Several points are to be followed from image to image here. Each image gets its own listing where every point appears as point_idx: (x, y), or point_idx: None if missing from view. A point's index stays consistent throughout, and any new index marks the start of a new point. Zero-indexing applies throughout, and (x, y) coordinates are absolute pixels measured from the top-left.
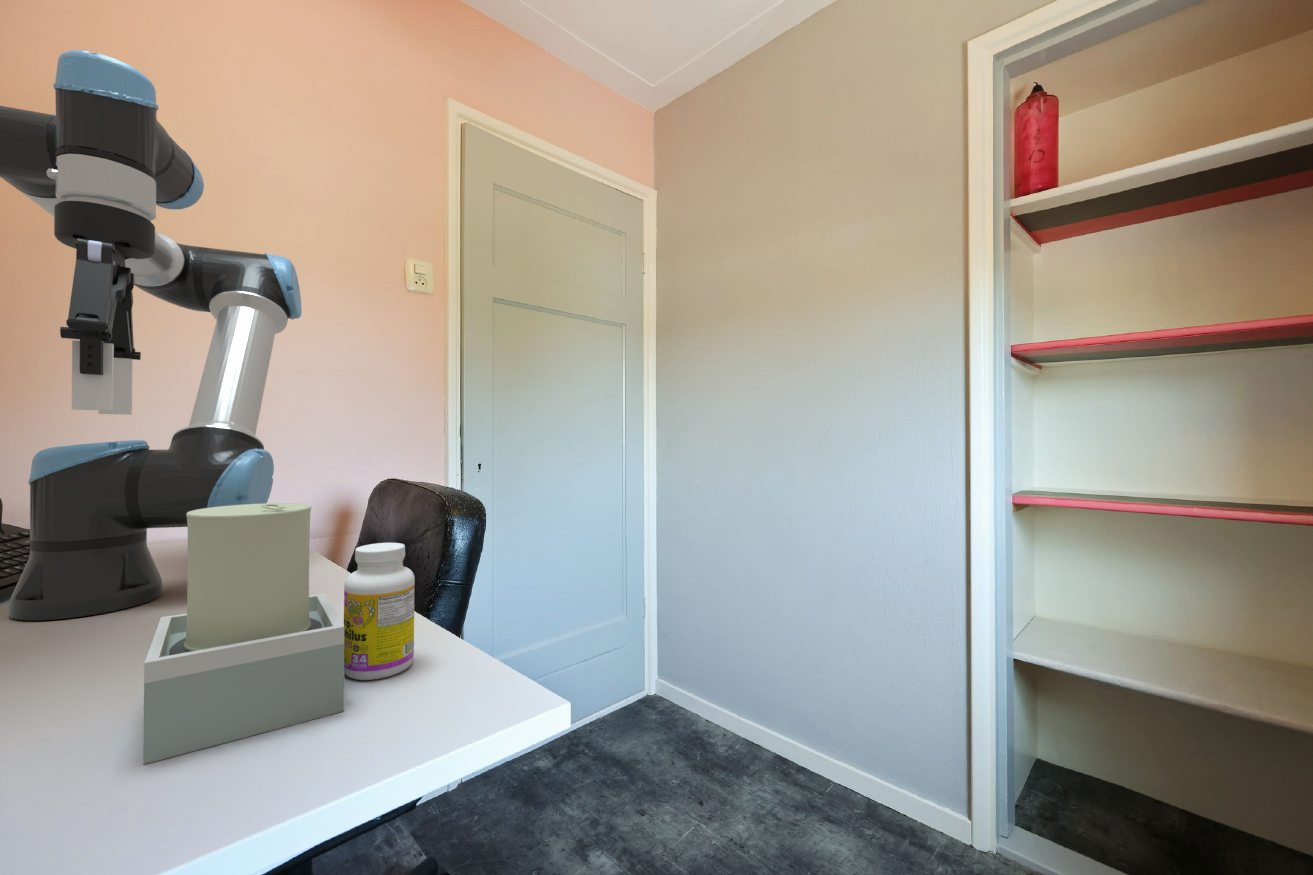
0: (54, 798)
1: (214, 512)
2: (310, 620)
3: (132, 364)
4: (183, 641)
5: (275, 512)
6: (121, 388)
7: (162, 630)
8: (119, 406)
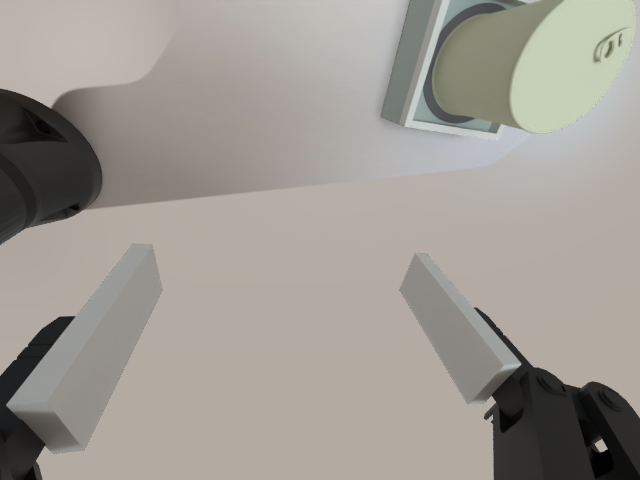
0: (457, 158)
1: (550, 108)
2: (478, 9)
3: (25, 380)
4: (439, 113)
5: (628, 54)
6: (124, 310)
7: (442, 128)
8: (148, 275)
